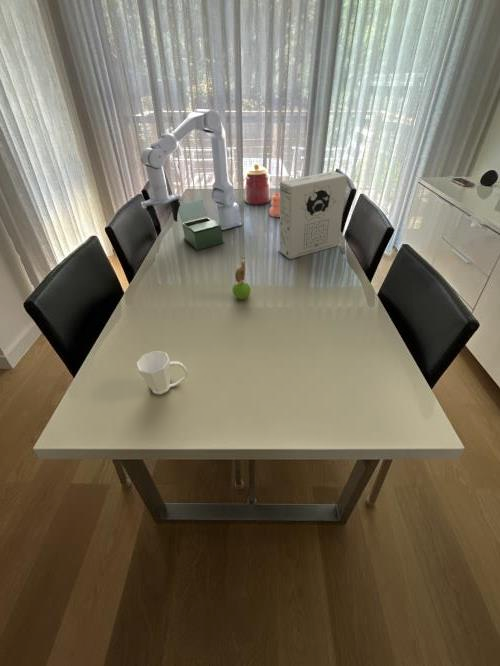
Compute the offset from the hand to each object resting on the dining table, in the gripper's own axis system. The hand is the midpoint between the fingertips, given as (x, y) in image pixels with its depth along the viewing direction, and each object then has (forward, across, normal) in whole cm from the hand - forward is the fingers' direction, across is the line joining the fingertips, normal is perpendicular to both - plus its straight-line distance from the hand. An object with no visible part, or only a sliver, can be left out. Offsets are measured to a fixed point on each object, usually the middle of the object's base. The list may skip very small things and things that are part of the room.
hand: (166, 223), depth 130 cm
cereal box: (+10, +43, -34) cm, 56 cm away
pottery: (+10, +58, +1) cm, 59 cm away
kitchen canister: (+10, +56, +26) cm, 62 cm away
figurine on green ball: (+10, +6, -49) cm, 50 cm away
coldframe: (+9, +13, -3) cm, 16 cm away
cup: (+10, -26, -72) cm, 77 cm away
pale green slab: (-1, +13, +5) cm, 14 cm away
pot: (+9, +13, 0) cm, 16 cm away
